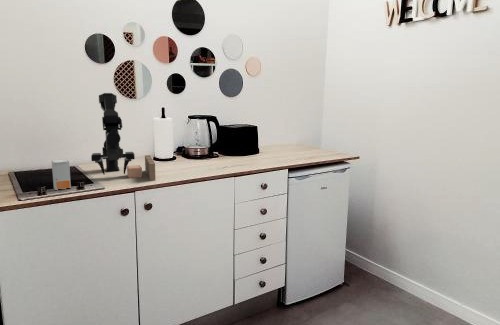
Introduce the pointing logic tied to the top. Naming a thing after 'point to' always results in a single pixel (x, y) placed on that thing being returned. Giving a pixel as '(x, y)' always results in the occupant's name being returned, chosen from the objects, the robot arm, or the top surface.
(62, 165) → the skincare box
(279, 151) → the top surface
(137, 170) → the terracotta block
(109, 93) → the robot arm
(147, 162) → the walnut board
